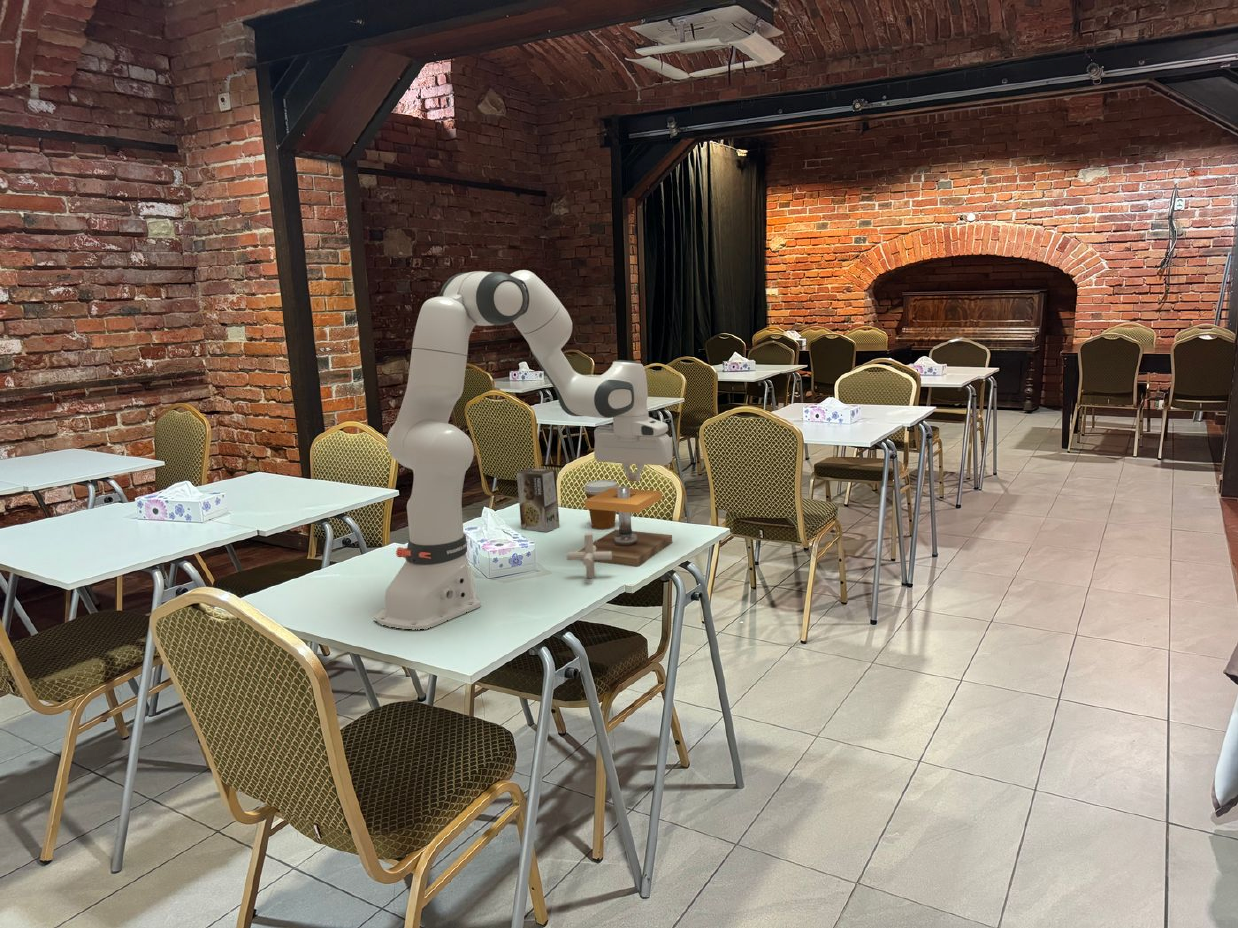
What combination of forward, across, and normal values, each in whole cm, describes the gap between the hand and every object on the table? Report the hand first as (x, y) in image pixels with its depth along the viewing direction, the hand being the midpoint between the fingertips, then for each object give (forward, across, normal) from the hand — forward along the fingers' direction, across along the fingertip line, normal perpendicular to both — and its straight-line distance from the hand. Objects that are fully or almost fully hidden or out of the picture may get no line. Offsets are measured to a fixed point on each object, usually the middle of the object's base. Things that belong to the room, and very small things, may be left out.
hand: (633, 480), depth 211 cm
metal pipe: (+14, 0, -6) cm, 16 cm away
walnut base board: (+16, 0, -6) cm, 17 cm away
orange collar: (+4, 0, -6) cm, 7 cm away
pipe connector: (+16, +1, -26) cm, 31 cm away
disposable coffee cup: (+17, -16, +12) cm, 26 cm away
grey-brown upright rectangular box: (+17, -32, +5) cm, 37 cm away
